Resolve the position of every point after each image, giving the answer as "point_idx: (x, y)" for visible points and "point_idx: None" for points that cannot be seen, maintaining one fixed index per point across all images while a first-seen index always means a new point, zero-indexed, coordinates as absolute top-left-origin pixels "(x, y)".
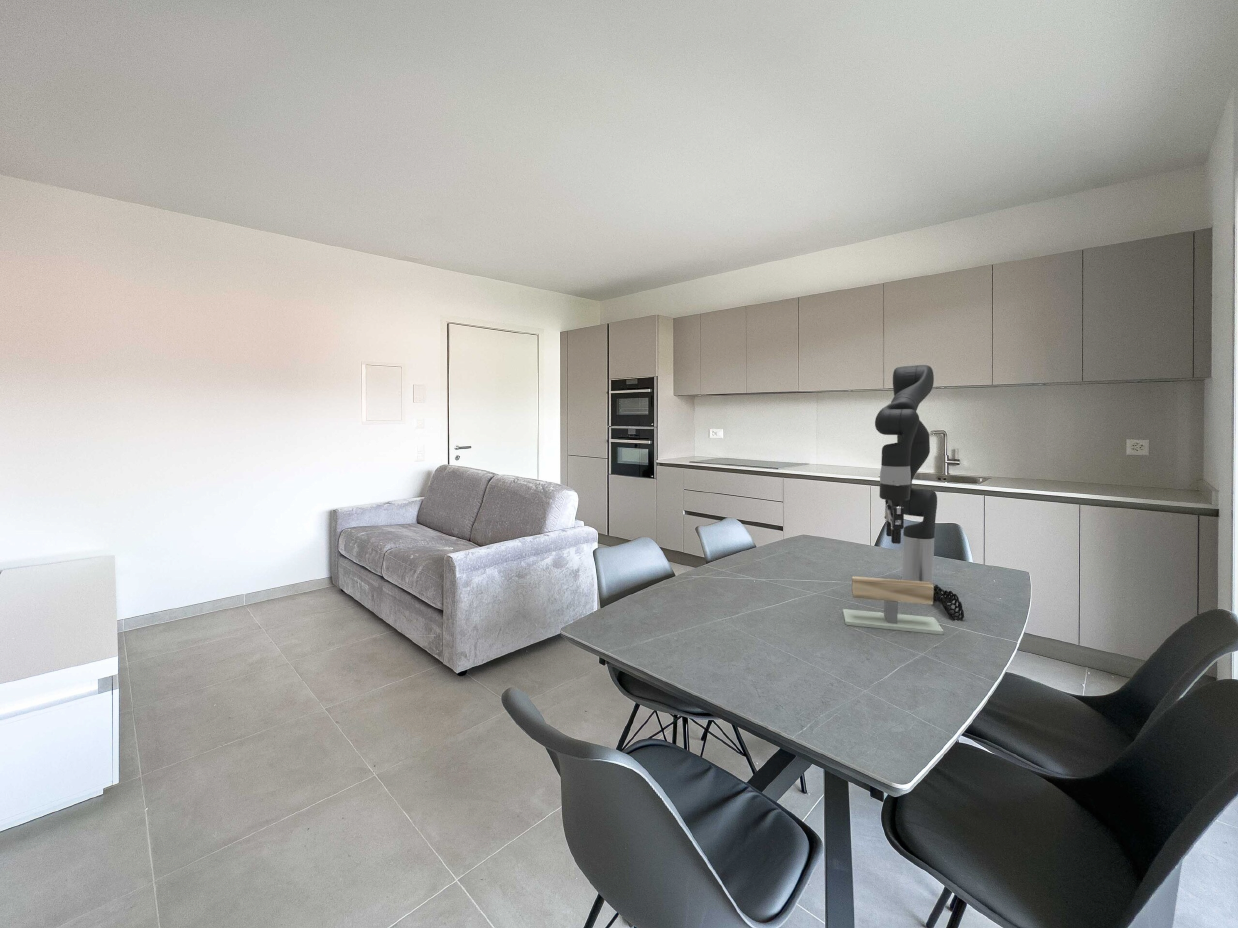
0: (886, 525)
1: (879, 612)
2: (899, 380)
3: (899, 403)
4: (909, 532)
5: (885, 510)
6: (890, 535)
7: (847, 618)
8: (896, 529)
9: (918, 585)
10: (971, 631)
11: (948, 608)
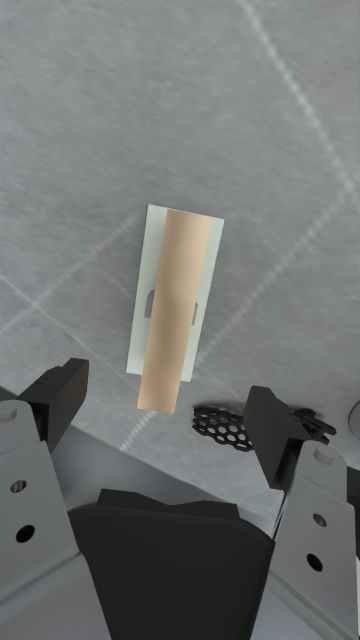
0: (292, 425)
1: (208, 293)
2: None
3: None
4: None
5: (355, 573)
6: (248, 403)
7: (166, 213)
8: None
9: (142, 377)
10: (148, 414)
11: (207, 415)
